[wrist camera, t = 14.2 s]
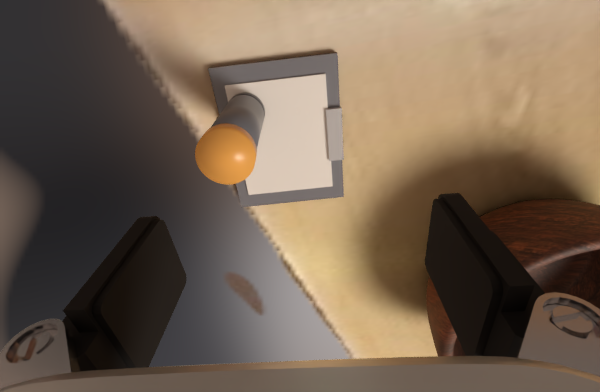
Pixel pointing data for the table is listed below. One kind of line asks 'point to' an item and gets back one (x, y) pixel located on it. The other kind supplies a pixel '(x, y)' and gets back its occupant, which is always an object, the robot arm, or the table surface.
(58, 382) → the robot arm
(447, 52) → the table surface
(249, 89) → the clipboard
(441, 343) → the wooden bowl
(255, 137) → the orange topped gray cylinder
